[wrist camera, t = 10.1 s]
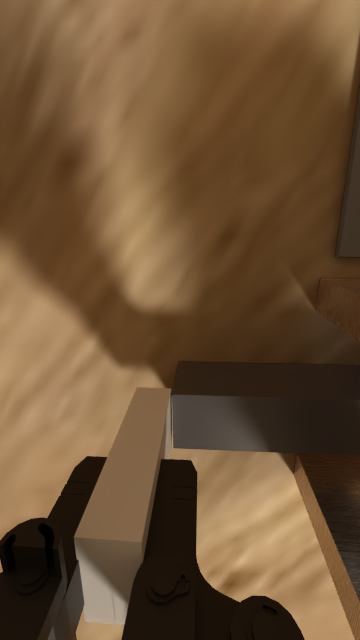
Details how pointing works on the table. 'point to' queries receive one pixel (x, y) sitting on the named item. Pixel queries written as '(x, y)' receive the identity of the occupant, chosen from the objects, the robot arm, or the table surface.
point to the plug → (267, 407)
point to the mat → (351, 199)
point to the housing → (336, 473)
